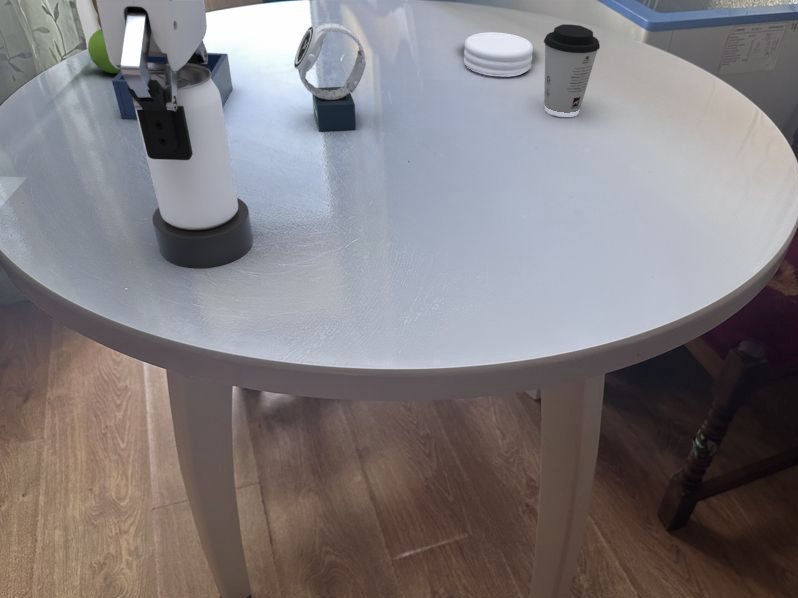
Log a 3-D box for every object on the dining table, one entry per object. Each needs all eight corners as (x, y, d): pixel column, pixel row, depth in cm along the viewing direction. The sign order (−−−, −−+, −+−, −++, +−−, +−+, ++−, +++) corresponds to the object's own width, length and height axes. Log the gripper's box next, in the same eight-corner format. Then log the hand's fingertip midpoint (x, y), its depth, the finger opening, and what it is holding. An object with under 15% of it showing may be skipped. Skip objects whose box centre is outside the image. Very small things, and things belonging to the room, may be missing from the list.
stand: (148, 267, 61) (140, 237, 59) (172, 219, 67) (165, 190, 65) (244, 269, 61) (239, 239, 59) (259, 221, 67) (255, 193, 66)
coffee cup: (591, 123, 91) (606, 41, 84) (537, 120, 90) (548, 38, 84) (584, 102, 96) (597, 24, 90) (532, 99, 96) (542, 20, 89)
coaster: (510, 84, 100) (513, 58, 97) (450, 67, 103) (451, 42, 101) (542, 65, 106) (545, 41, 104) (485, 50, 110) (487, 26, 108)
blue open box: (121, 118, 83) (111, 80, 80) (147, 85, 91) (139, 49, 88) (215, 122, 84) (209, 84, 81) (232, 88, 92) (227, 53, 89)
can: (179, 240, 59) (146, 96, 51) (149, 208, 62) (114, 68, 55) (252, 218, 62) (231, 80, 54) (219, 189, 66) (195, 55, 58)
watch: (297, 114, 87) (288, 18, 80) (362, 110, 89) (359, 17, 82) (302, 132, 83) (293, 34, 76) (370, 129, 85) (368, 32, 78)
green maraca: (103, 84, 90) (76, -19, 83) (89, 68, 94) (62, -32, 86) (147, 78, 93) (124, -23, 85) (132, 62, 97) (109, -36, 89)
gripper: (115, -145, 52) (165, 92, 64) (15, -107, 39) (100, 183, 51) (219, -138, 53) (250, 95, 64) (156, -98, 40) (209, 186, 51)
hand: (184, 133), depth 57 cm, fingers open, 8 cm apart
